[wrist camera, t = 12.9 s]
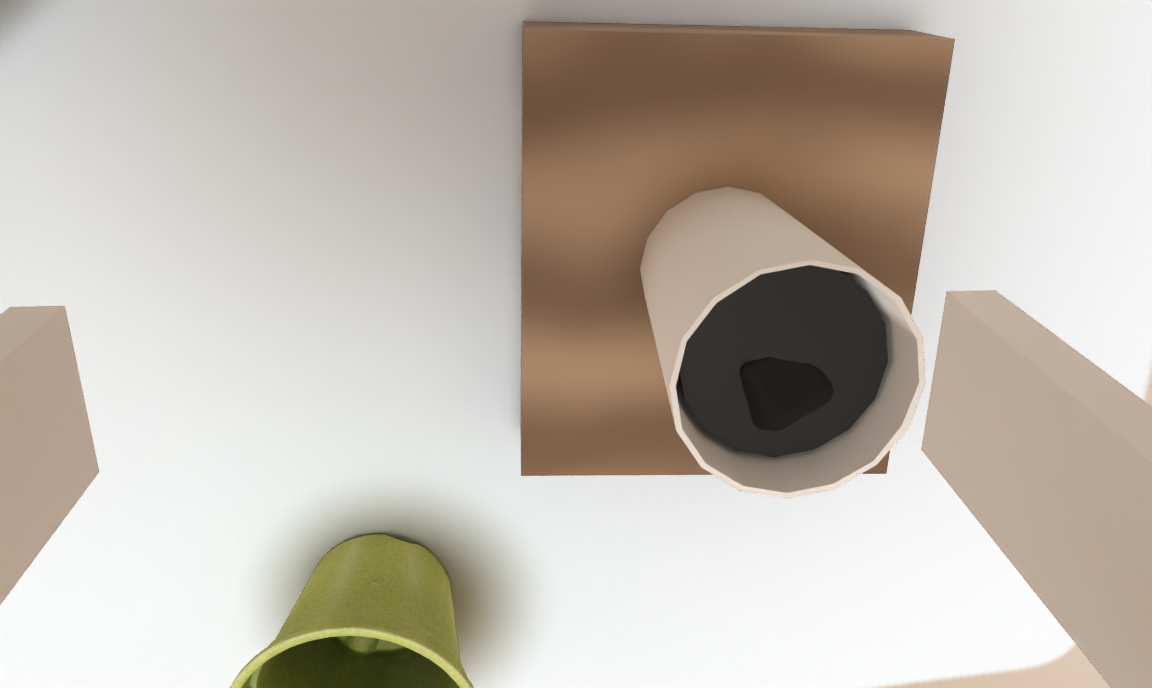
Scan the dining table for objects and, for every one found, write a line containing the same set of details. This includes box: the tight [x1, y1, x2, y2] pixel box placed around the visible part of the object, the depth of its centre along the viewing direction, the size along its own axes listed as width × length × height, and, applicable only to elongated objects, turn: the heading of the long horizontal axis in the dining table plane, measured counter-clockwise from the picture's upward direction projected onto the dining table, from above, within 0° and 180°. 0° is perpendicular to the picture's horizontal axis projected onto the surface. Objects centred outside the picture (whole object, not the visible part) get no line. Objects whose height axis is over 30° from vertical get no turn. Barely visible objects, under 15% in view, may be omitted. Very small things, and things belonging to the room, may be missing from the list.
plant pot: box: [230, 534, 474, 688], centre depth 40 cm, size 9×9×9 cm
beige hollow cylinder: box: [640, 187, 925, 498], centre depth 30 cm, size 7×7×10 cm
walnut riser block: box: [521, 21, 955, 476], centre depth 37 cm, size 16×14×4 cm
